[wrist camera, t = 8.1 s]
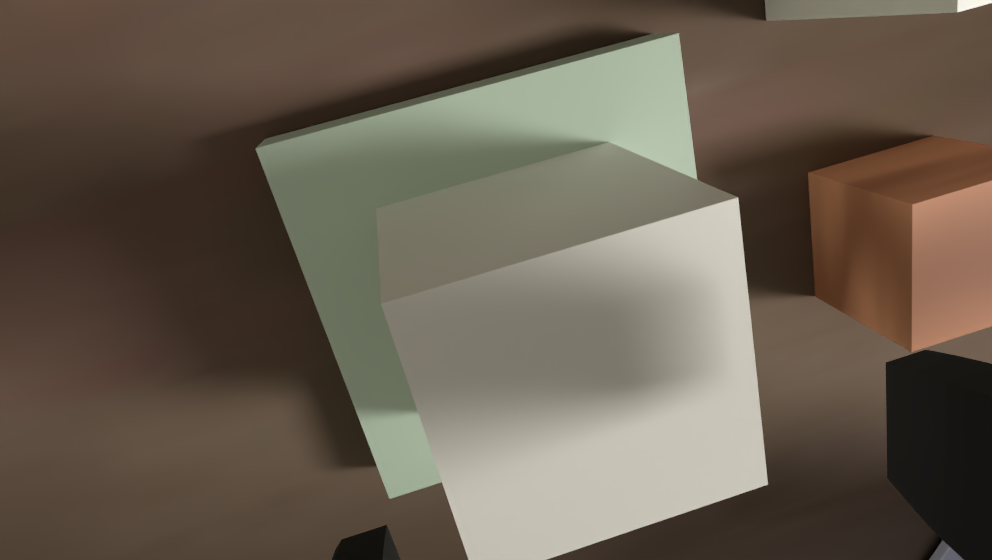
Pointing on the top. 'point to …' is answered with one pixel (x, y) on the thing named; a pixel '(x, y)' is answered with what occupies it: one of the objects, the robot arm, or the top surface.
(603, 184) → the cream matte cube
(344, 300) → the coaster
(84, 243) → the top surface
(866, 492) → the top surface
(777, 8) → the cover
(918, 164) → the orange brown block
